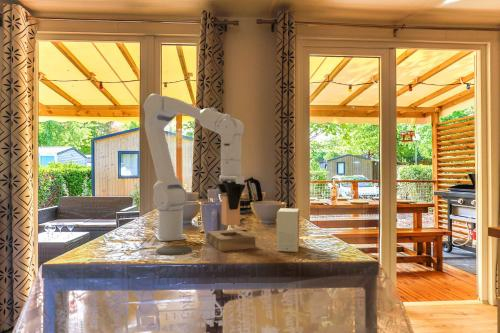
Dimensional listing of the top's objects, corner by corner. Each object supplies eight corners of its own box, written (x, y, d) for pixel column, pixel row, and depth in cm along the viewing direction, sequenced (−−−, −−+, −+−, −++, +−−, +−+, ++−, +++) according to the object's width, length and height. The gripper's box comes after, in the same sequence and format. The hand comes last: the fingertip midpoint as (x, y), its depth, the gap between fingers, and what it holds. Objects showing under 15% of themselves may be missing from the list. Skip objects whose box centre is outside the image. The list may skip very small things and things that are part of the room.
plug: (221, 223, 96) (221, 192, 96) (234, 222, 97) (235, 192, 97) (226, 225, 92) (226, 193, 92) (240, 224, 93) (240, 193, 94)
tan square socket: (207, 241, 98) (207, 231, 98) (238, 239, 102) (239, 229, 102) (220, 251, 87) (220, 239, 87) (255, 247, 91) (255, 236, 91)
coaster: (153, 248, 89) (153, 247, 89) (187, 245, 93) (187, 244, 93) (159, 256, 81) (159, 254, 81) (195, 253, 85) (195, 251, 85)
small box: (297, 252, 86) (298, 211, 86) (276, 251, 87) (276, 211, 87) (299, 245, 94) (299, 208, 94) (279, 244, 95) (280, 207, 95)
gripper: (254, 160, 90) (254, 210, 90) (234, 161, 103) (234, 205, 103) (229, 159, 87) (229, 211, 87) (212, 160, 100) (212, 206, 100)
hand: (230, 208), depth 95 cm, fingers closed on plug, 4 cm apart
